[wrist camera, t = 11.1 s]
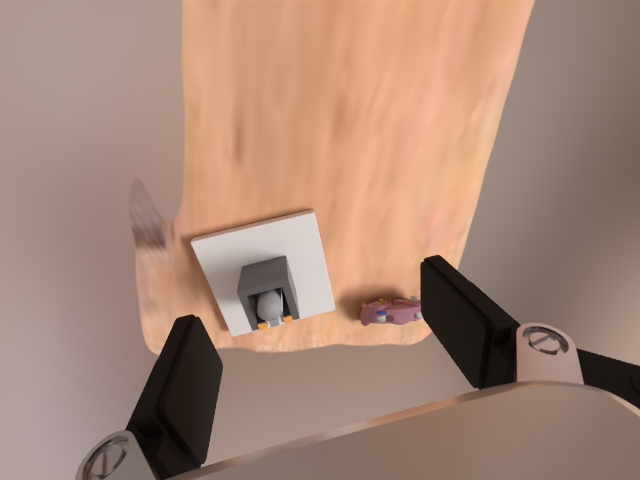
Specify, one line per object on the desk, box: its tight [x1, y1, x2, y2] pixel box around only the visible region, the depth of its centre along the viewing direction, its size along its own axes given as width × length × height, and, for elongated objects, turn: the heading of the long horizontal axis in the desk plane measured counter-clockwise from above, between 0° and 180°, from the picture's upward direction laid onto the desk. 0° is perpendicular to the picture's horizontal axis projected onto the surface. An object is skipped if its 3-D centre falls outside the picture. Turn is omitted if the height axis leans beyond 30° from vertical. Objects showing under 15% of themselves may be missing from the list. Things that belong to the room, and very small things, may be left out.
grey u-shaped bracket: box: [237, 256, 300, 331], centre depth 35 cm, size 6×6×6 cm
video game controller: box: [360, 296, 423, 326], centre depth 42 cm, size 10×5×7 cm, turn 90°
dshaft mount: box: [191, 209, 336, 337], centre depth 35 cm, size 16×16×8 cm
